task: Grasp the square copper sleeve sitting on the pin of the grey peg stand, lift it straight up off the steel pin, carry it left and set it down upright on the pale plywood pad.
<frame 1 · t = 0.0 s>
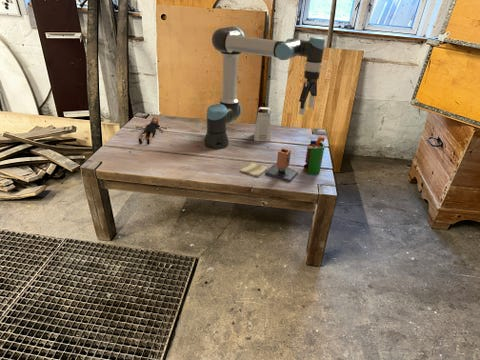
hand: (306, 110, 174), 28 cm above the table, fingers open, 13 cm apart
grey peg stand: (281, 173, 170), on the table
plywood pad: (254, 170, 172), on the table
grater: (262, 138, 210), on the table
motor: (311, 170, 175), on the table
woman figure: (150, 134, 208), on the table
square copper sleeve: (282, 166, 168), point 4 cm above the table, touching grey peg stand
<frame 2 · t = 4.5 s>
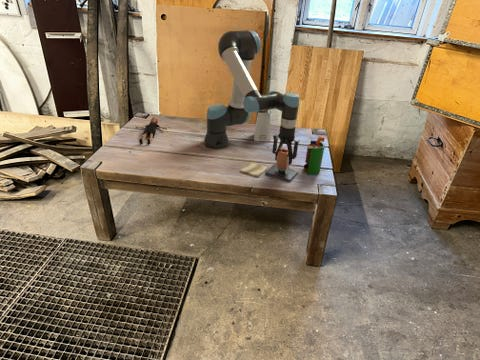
hand: (282, 167, 168), 4 cm above the table, fingers closed on square copper sleeve, 5 cm apart
square copper sleeve: (282, 166, 168), point 4 cm above the table, touching gripper, grey peg stand
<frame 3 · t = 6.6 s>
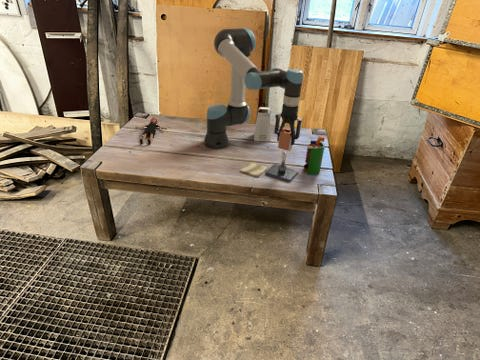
hand: (284, 148, 163), 15 cm above the table, fingers closed on square copper sleeve, 5 cm apart
square copper sleeve: (284, 147, 162), point 15 cm above the table, touching gripper
everything else where it was.
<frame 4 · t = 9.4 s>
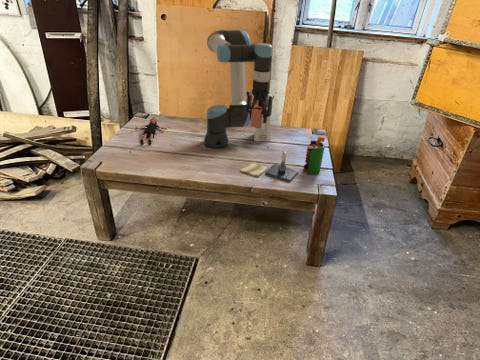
hand: (257, 127, 159), 24 cm above the table, fingers closed on square copper sleeve, 5 cm apart
square copper sleeve: (257, 126, 159), point 25 cm above the table, touching gripper
when the fingers open (2 cm above the table, at t = 14.1 s): square copper sleeve drops 2 cm, resting on plywood pad.
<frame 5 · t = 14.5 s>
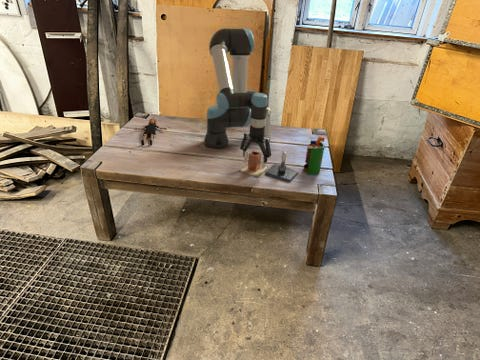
hand: (254, 164, 170), 3 cm above the table, fingers open, 10 cm apart
square copper sleeve: (254, 168, 172), point 1 cm above the table, touching plywood pad
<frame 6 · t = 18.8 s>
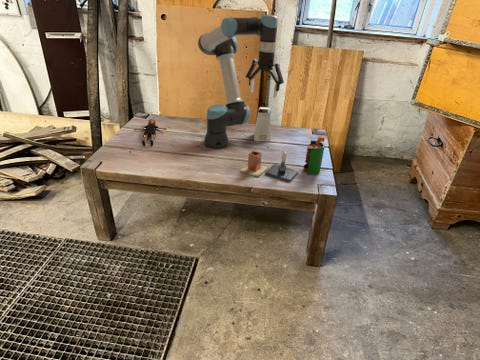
hand: (263, 94, 166), 37 cm above the table, fingers open, 13 cm apart
at the end: square copper sleeve inside the target area on the plywood pad (0.1 cm from its centre), point 1.0 cm above the plywood pad's base; square copper sleeve tilted 0°; the gripper is holding nothing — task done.
